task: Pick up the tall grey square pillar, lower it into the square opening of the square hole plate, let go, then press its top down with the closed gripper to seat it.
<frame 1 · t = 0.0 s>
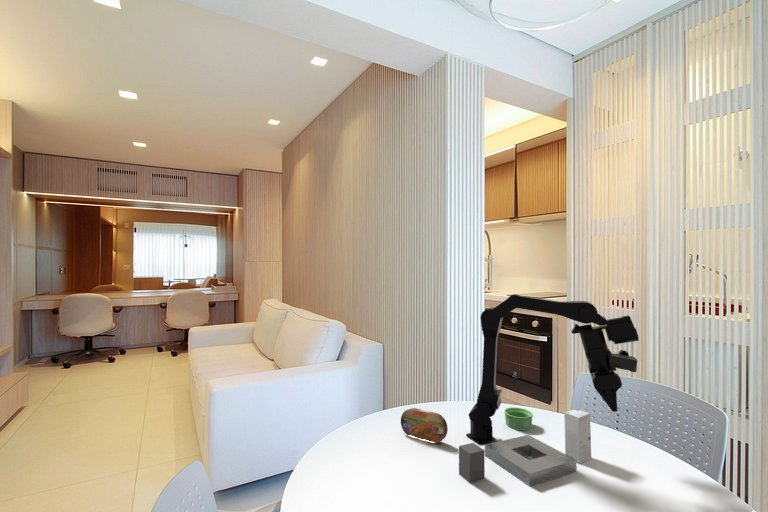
hand: (612, 405, 99), 15 cm above the table, tool pointing down, fingers open, 9 cm apart
skincare box: (578, 458, 102), on the table
square hole plate: (528, 463, 99), on the table
tin: (423, 439, 113), on the table
ramekin: (518, 426, 123), on the table
tall grey square pillar: (471, 476, 92), on the table
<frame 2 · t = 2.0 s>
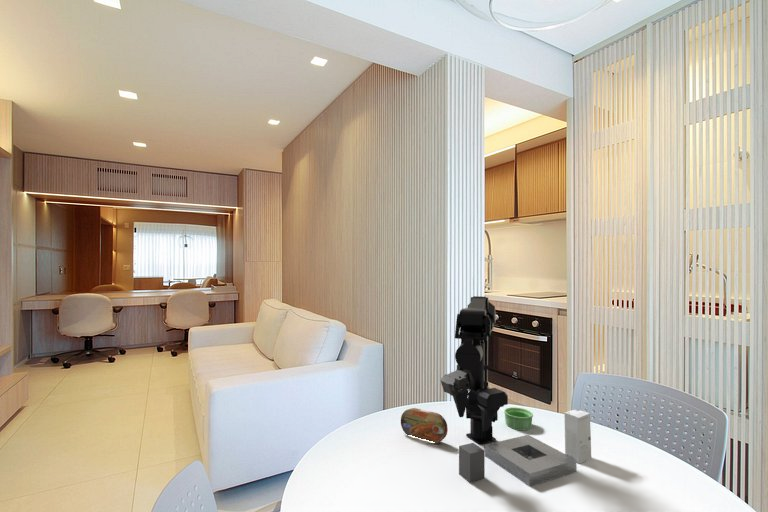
hand: (472, 423, 92), 13 cm above the table, tool pointing down, fingers open, 9 cm apart
nothing on the table moved.
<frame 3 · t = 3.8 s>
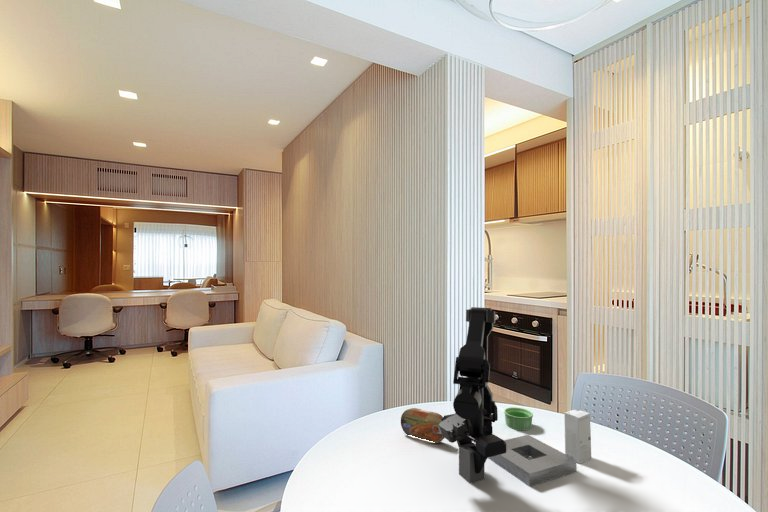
hand: (471, 468, 92), 2 cm above the table, tool pointing down, fingers closed on tall grey square pillar, 4 cm apart
tall grey square pillar: (471, 476, 92), on the table, touching gripper
everything else where it was.
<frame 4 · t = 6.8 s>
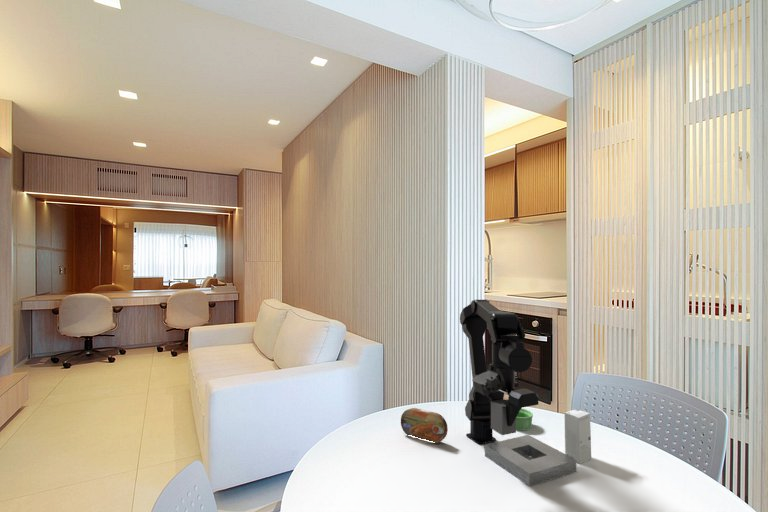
hand: (503, 422, 96), 12 cm above the table, tool pointing down, fingers closed on tall grey square pillar, 4 cm apart
tall grey square pillar: (503, 430, 96), point 10 cm above the table, touching gripper
everything else where it was.
when the fingers open (4 cm above the table, at t = 9.7 s): tall grey square pillar drops 2 cm, resting in square hole plate.
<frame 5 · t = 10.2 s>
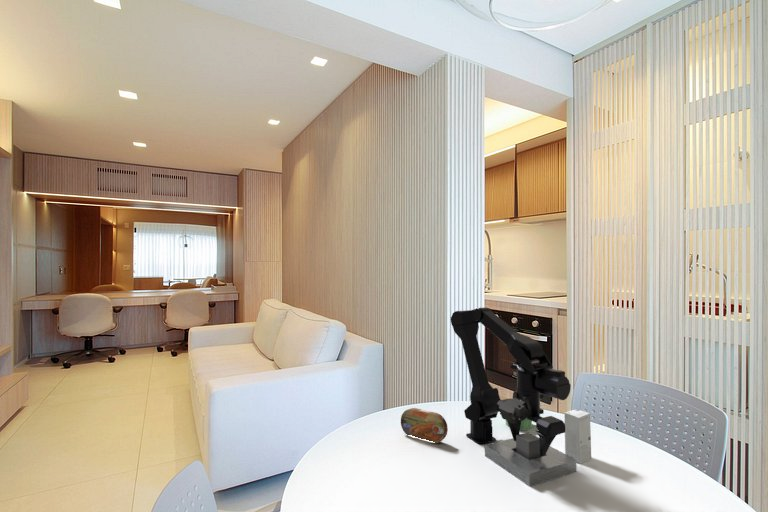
hand: (528, 448, 99), 4 cm above the table, tool pointing down, fingers open, 9 cm apart
tall grey square pillar: (528, 463, 99), resting in square hole plate
everything else where it was.
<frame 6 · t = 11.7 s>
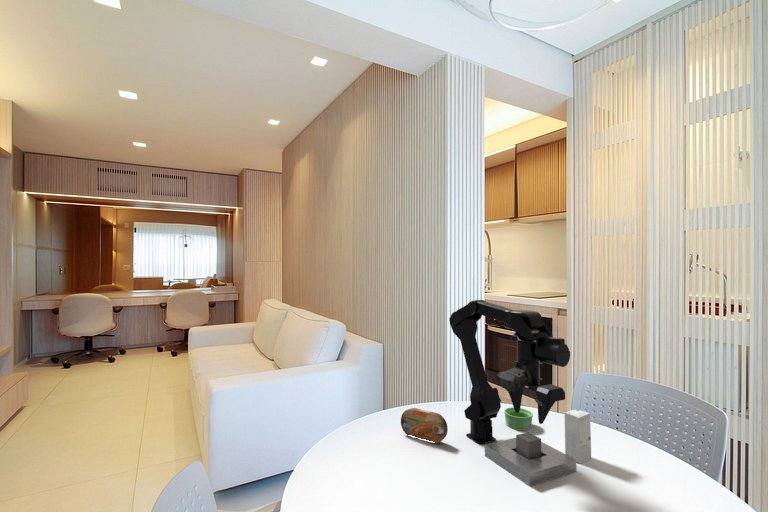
hand: (528, 417, 99), 12 cm above the table, tool pointing down, fingers open, 8 cm apart
nothing on the table moved.
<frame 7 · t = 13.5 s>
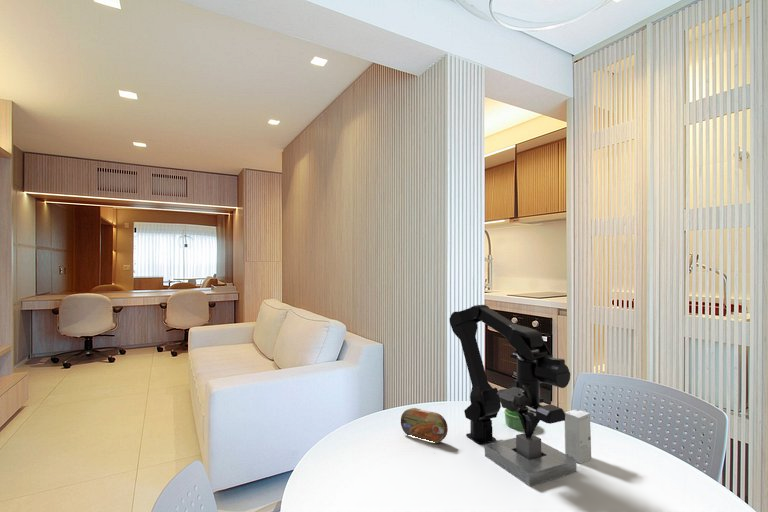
hand: (528, 437, 99), 7 cm above the table, tool pointing down, fingers closed, pressing on tall grey square pillar
tall grey square pillar: (528, 463, 99), resting in square hole plate, touching gripper
everything else where it was.
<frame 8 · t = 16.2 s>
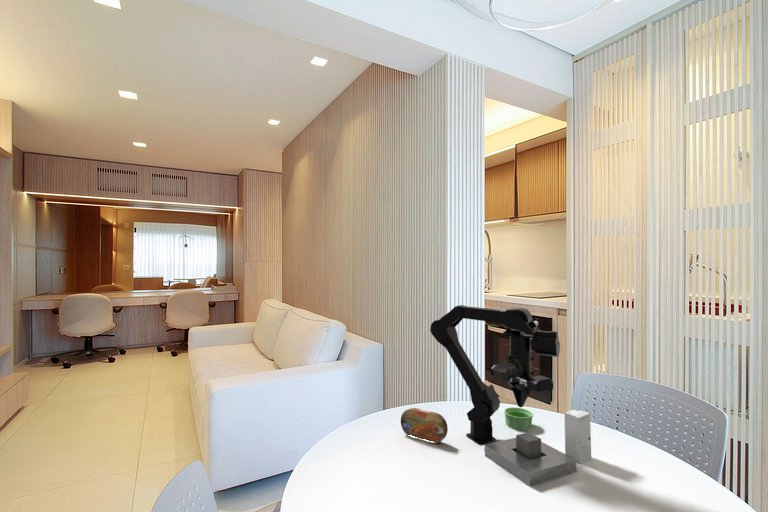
hand: (520, 406, 107), 12 cm above the table, tool pointing down, fingers closed
tall grey square pillar: (528, 463, 99), resting in square hole plate
everything else where it was.
at the end: tall grey square pillar 0.1 cm off-centre on the square hole plate, point 0.0 cm above the square hole plate's base; tall grey square pillar tilted 0°; the gripper is holding nothing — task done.
